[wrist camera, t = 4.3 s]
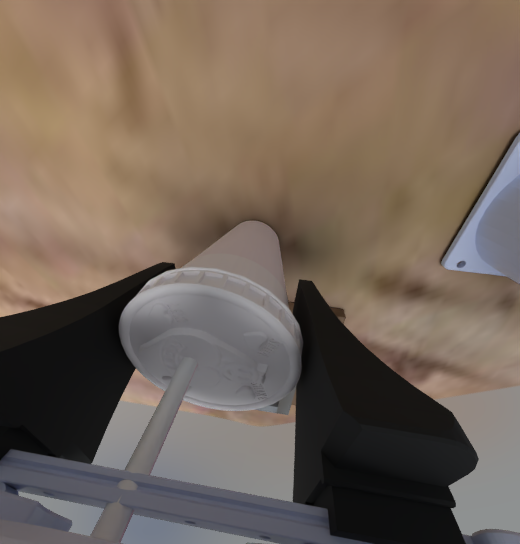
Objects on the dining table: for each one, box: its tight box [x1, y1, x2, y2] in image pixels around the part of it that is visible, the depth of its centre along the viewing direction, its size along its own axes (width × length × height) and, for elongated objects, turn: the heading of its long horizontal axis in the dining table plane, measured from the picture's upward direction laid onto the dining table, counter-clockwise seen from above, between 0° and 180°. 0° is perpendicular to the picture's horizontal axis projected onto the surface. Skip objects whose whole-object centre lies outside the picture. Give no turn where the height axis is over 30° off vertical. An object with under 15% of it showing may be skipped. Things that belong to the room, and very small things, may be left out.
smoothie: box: [91, 221, 303, 543], centre depth 10 cm, size 6×6×14 cm
